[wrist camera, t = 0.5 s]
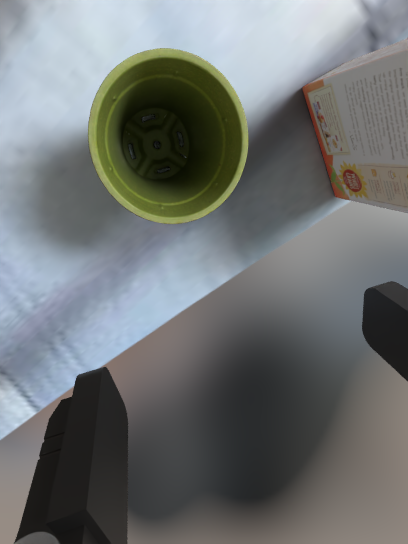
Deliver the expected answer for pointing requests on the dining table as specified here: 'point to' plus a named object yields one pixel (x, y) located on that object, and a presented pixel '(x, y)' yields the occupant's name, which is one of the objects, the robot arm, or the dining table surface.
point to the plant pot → (168, 136)
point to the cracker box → (365, 126)
